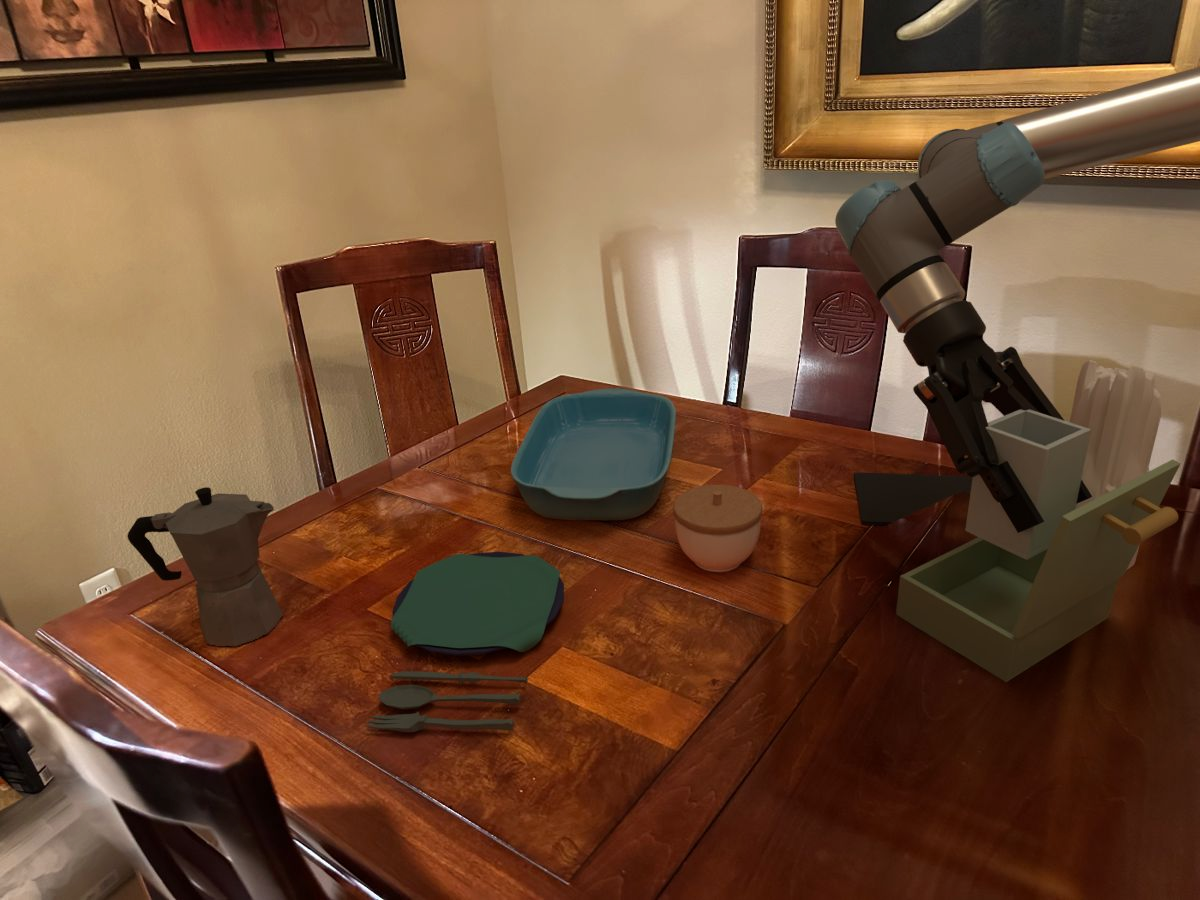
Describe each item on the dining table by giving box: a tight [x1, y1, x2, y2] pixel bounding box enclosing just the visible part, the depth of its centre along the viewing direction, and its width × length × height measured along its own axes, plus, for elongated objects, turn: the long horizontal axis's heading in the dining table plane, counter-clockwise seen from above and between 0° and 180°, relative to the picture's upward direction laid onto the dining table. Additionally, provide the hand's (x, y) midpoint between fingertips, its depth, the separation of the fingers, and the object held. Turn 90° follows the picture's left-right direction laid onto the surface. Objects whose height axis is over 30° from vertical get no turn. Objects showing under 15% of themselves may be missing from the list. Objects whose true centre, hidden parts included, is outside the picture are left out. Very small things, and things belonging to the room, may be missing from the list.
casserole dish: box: [510, 387, 677, 522], centre depth 126 cm, size 37×22×7 cm, turn 172°
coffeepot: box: [127, 486, 284, 647], centre depth 95 cm, size 15×9×18 cm, turn 102°
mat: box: [853, 471, 973, 527], centre depth 115 cm, size 18×14×1 cm
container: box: [964, 409, 1091, 560], centre depth 84 cm, size 7×7×12 cm
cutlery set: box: [365, 551, 565, 733], centre depth 93 cm, size 20×30×2 cm, turn 173°
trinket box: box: [672, 484, 763, 573], centre depth 103 cm, size 11×11×9 cm
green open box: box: [895, 537, 1119, 683], centre depth 90 cm, size 13×17×6 cm
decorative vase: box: [1069, 359, 1162, 570], centre depth 96 cm, size 11×11×25 cm
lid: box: [1011, 459, 1182, 639], centre depth 78 cm, size 14×17×4 cm
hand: (1055, 514), depth 82 cm, fingers closed on container, 7 cm apart
